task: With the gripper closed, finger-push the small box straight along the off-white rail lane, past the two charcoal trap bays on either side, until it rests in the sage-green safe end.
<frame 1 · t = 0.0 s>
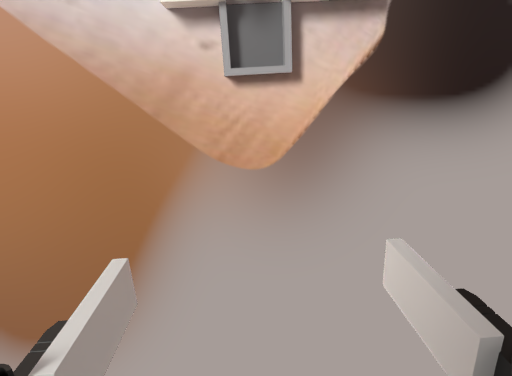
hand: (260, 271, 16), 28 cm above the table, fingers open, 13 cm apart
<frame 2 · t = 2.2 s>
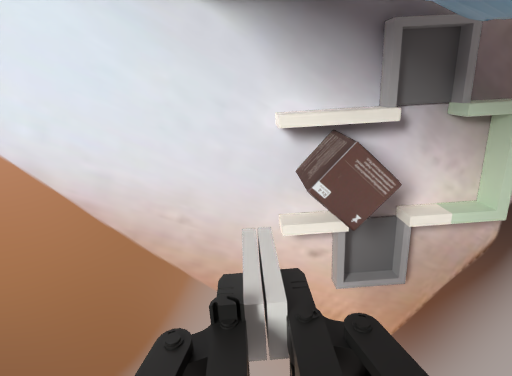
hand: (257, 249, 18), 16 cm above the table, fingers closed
box: (331, 167, 34), on the table
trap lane: (387, 164, 34), on the table
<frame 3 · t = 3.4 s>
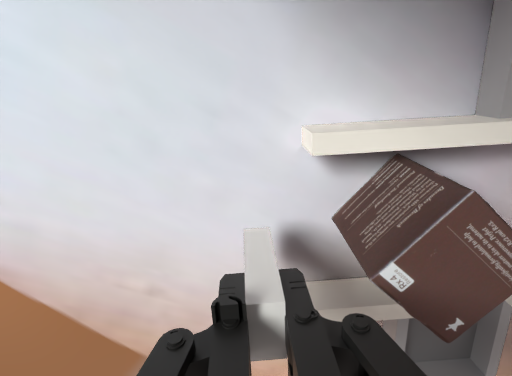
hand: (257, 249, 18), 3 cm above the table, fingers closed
box: (388, 211, 22), on the table
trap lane: (477, 206, 21), on the table
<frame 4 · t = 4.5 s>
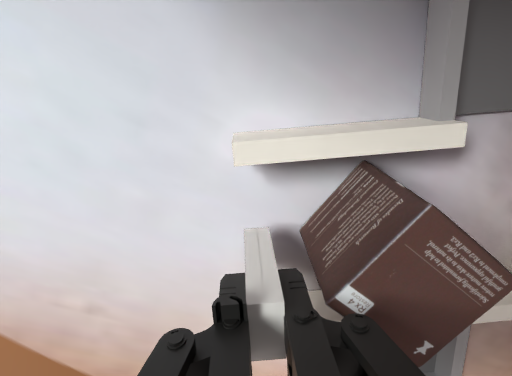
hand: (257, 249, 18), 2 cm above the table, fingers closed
box: (360, 220, 20), on the table, touching gripper
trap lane: (430, 214, 20), on the table
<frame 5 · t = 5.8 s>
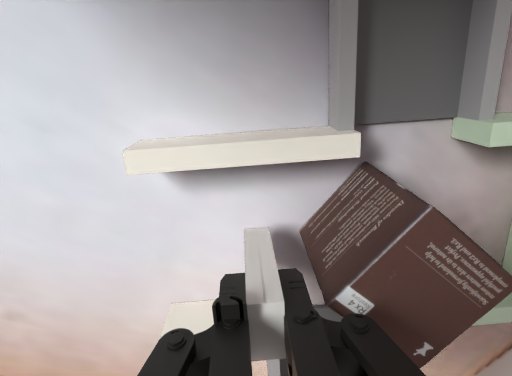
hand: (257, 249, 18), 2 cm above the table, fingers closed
box: (360, 221, 20), on the table, touching gripper
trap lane: (348, 222, 20), on the table
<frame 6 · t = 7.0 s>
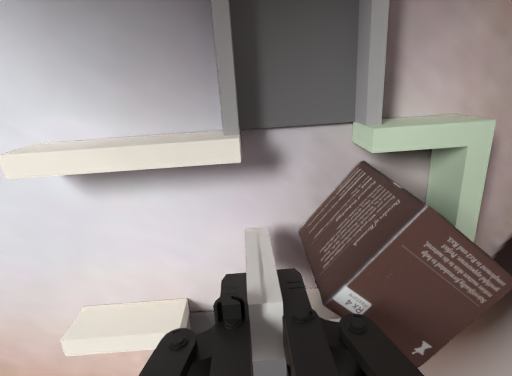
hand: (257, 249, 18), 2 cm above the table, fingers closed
box: (359, 220, 20), on the table, touching gripper, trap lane
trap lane: (255, 226, 20), on the table
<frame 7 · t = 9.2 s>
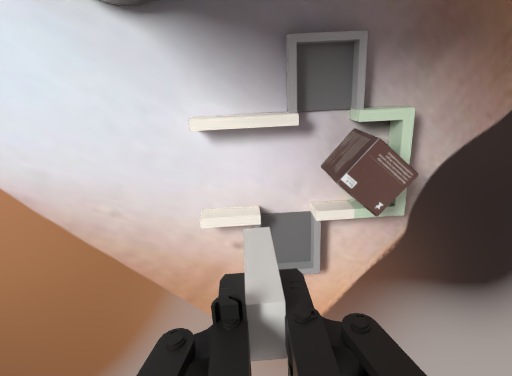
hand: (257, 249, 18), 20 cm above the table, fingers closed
box: (352, 161, 38), on the table
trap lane: (298, 164, 38), on the table
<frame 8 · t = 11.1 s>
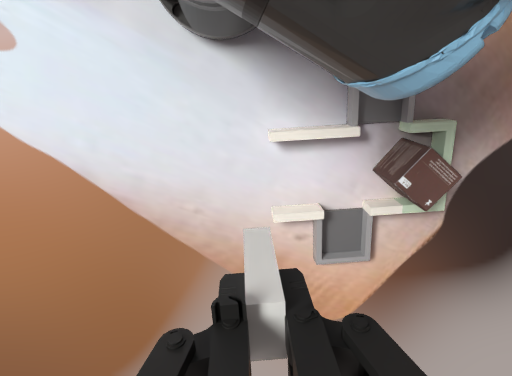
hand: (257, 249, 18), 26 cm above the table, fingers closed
box: (399, 165, 45), on the table
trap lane: (354, 167, 45), on the table
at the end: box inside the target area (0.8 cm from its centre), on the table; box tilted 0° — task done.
